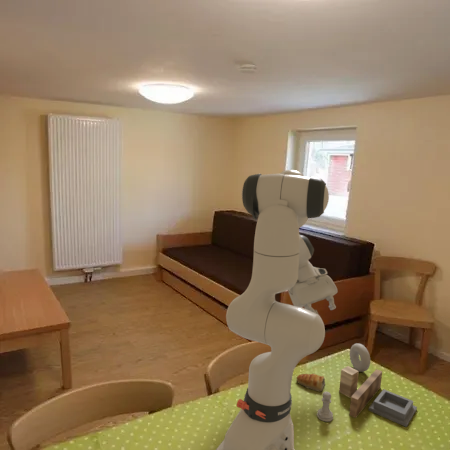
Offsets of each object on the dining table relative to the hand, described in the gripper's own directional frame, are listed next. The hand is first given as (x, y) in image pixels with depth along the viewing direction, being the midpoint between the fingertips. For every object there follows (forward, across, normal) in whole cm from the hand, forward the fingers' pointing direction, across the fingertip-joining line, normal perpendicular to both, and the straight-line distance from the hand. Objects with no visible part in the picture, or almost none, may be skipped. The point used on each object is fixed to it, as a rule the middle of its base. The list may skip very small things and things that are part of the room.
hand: (325, 312), depth 130 cm
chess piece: (+28, -18, +4) cm, 33 cm away
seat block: (+35, +3, -2) cm, 35 cm away
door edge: (+30, 0, +4) cm, 30 cm away
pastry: (+19, -8, +15) cm, 25 cm away
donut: (+22, +15, +14) cm, 30 cm away
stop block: (+26, -1, +8) cm, 27 cm away
